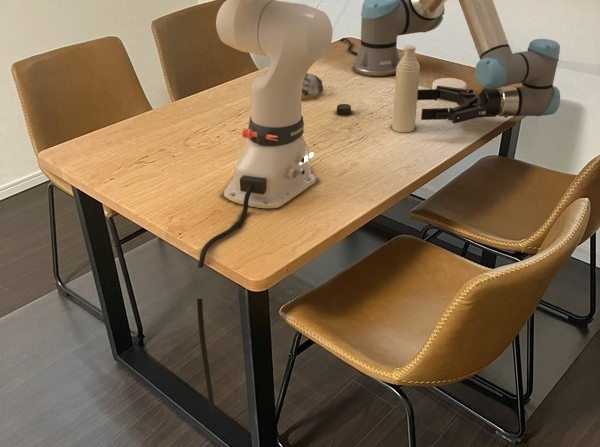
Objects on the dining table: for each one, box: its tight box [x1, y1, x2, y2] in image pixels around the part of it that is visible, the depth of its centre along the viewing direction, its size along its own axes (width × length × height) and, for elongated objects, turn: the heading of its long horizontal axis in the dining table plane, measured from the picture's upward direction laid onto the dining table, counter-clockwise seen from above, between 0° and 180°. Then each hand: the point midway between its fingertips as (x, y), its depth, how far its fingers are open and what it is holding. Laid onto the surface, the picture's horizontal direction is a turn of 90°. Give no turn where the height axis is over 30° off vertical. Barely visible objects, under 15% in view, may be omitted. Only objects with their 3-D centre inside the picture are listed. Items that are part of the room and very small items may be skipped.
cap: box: [336, 103, 352, 117], centre depth 174 cm, size 4×4×2 cm
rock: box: [301, 72, 324, 99], centre depth 187 cm, size 15×10×7 cm
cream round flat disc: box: [431, 77, 468, 89], centre depth 185 cm, size 10×10×4 cm
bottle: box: [391, 44, 421, 133], centre depth 160 cm, size 6×6×22 cm
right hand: (416, 104), depth 162 cm, fingers open, 13 cm apart
